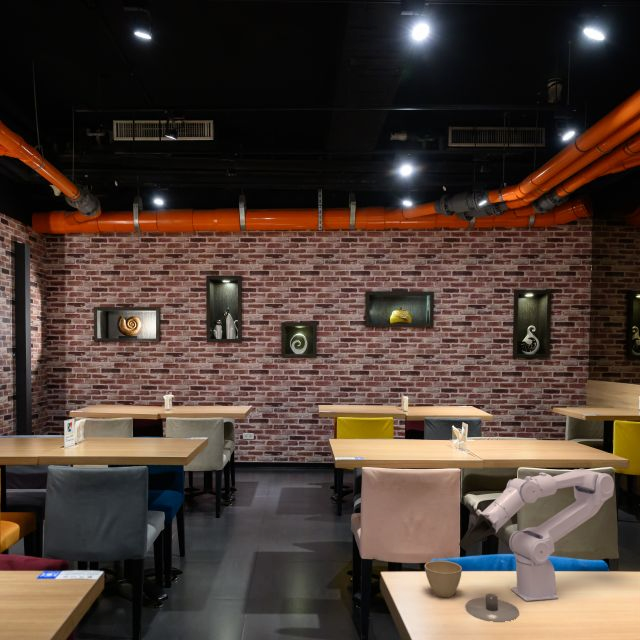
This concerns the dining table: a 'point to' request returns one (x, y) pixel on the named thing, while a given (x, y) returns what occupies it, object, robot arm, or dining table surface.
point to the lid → (492, 609)
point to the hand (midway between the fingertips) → (465, 544)
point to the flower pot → (443, 577)
